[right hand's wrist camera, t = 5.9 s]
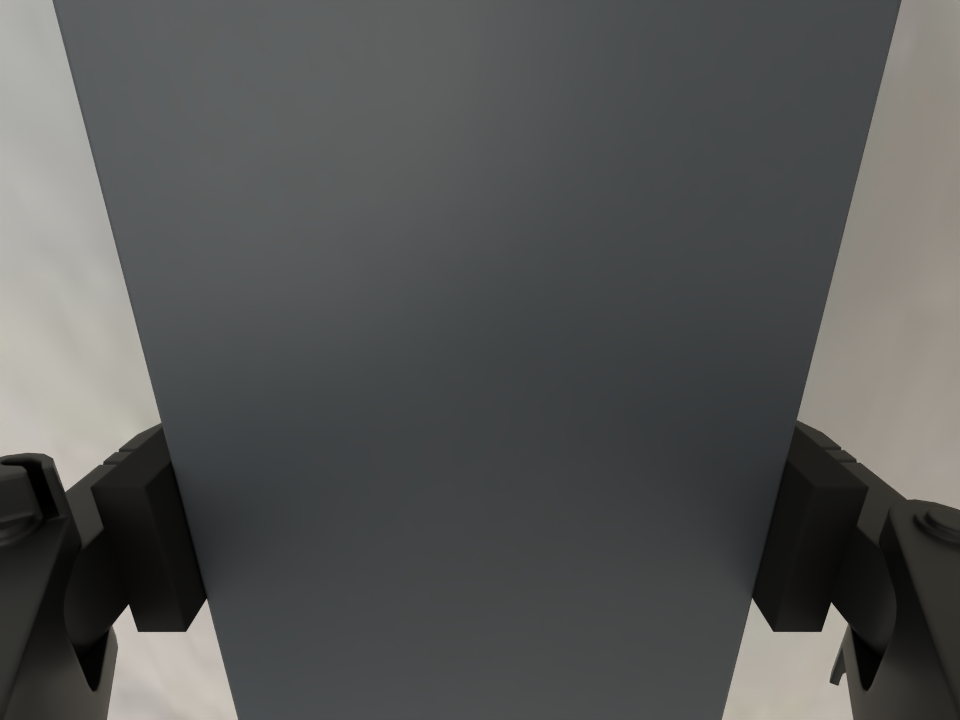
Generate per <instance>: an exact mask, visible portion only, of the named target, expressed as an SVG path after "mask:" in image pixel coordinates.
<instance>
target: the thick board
mask: <svg viewBox="0 0 960 720" xmlns="http://www.w3.org/2000/svg"><path fill="white" fill-rule="evenodd" d="M53 4H54V8H55V12H56V15H57V19H58V23H59V27H60V31H61V35H62V39H63V43H64V46H65V50H66V54H67V58H68V62H69V66H70V70H71V74H72V77H73V81H74V85H75V89H76V93H77V97H78V101H79V105H80V108H81V112H82V116H83V120H84V124H85V128H86V132H87V136H88V139H89V143H90V147H91V151H92V155H93V159H94V163H95V167H96V170H97V174H98V178H99V182H100V186H101V190H102V194H103V198H104V201H105V205H106V209H107V213H108V217H109V221H110V225H111V229H112V232H113V236H114V240H115V244H116V248H117V252H118V256H119V260H120V263H121V267H122V271H123V275H124V279H125V283H126V287H127V290H128V294H129V298H130V302H131V306H132V310H133V314H134V318H135V321H136V325H137V329H138V333H139V337H140V341H141V345H142V349H143V352H144V356H145V360H146V364H147V368H148V372H149V376H150V380H151V383H152V387H153V391H154V395H155V399H156V403H157V407H158V411H159V414H160V418H161V422H162V426H163V430H164V434H165V438H166V442H167V445H168V449H169V453H170V457H171V461H172V465H173V469H174V473H175V476H176V480H177V484H178V488H179V492H180V496H181V500H182V504H183V507H184V511H185V515H186V519H187V523H188V527H189V531H190V534H191V538H192V542H193V546H194V550H195V554H196V558H197V562H198V565H199V569H200V573H201V577H202V581H203V585H204V589H205V593H206V596H207V600H208V604H209V608H210V612H211V616H212V620H213V624H214V627H215V631H216V635H217V639H218V643H219V647H220V651H221V655H222V658H223V662H224V666H225V670H226V674H227V678H228V682H229V686H230V689H231V693H232V697H233V701H234V705H235V709H236V713H237V717H238V720H722V716H723V712H724V708H725V704H726V700H727V696H728V692H729V688H730V684H731V680H732V676H733V672H734V668H735V664H736V660H737V656H738V652H739V648H740V644H741V640H742V636H743V632H744V628H745V624H746V620H747V616H748V612H749V608H750V604H751V600H752V596H753V592H754V588H755V584H756V580H757V576H758V572H759V568H760V564H761V560H762V556H763V552H764V548H765V544H766V540H767V536H768V532H769V528H770V524H771V520H772V516H773V512H774V508H775V504H776V500H777V496H778V492H779V488H780V484H781V480H782V476H783V472H784V468H785V464H786V460H787V456H788V452H789V448H790V444H791V440H792V436H793V432H794V428H795V424H796V420H797V416H798V412H799V408H800V404H801V400H802V396H803V392H804V388H805V384H806V380H807V376H808V372H809V368H810V364H811V360H812V356H813V352H814V348H815V344H816V340H817V336H818V332H819V328H820V324H821V320H822V316H823V312H824V308H825V304H826V300H827V296H828V292H829V288H830V284H831V280H832V276H833V272H834V268H835V264H836V260H837V256H838V252H839V248H840V244H841V240H842V236H843V232H844V228H845V224H846V220H847V216H848V212H849V208H850V204H851V200H852V196H853V192H854V188H855V184H856V180H857V176H858V172H859V168H860V164H861V160H862V156H863V152H864V148H865V144H866V140H867V136H868V132H869V128H870V124H871V120H872V116H873V112H874V108H875V104H876V100H877V96H878V92H879V88H880V84H881V80H882V76H883V72H884V68H885V64H886V60H887V56H888V52H889V48H890V44H891V40H892V36H893V32H894V28H895V24H896V20H897V16H898V12H899V8H900V4H901V0H53Z"/></svg>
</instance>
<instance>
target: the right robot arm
mask: <svg viewBox="0 0 960 720" xmlns="http://www.w3.org/2000/svg"><path fill="white" fill-rule="evenodd" d="M752 598H753V600H754V601H755V603H756V605H757V606H758V608H759V609H760V611H761V613H762V614H763V616H764V617H765V619H766V621H767V622H768V624H769V625H770V627H771V629H772V630H773V632H821V631H822V628H823V625H824V622H825V619H826V616H827V613H828V610H829V607H830V604H831V602H832V603H833V605H834V606H835V607H836V608H837V610H838V611H839V612H840V614H841V615H842V616H843V617H844V619H845V620H846V621H847V622H848V626H847V629H846V632H845V635H844V638H843V641H842V643H841V646H840V649H839V652H838V655H837V657H836V660H835V663H834V666H833V669H832V672H831V677H830V683H832V684H835V685H839V682H840V679H841V676H842V674H844V673H846V675H847V681H848V687H849V694H850V700H851V707H852V713H853V719H854V720H960V510H958V509H955V508H952V507H948V506H945V505H942V504H938V503H935V502H928V501H921V500H907V499H905V498H904V497H903V496H902V495H900V494H899V493H898V492H897V491H895V490H894V489H893V488H892V487H890V486H889V485H888V484H887V483H885V482H884V481H883V480H882V479H880V478H879V477H878V476H876V475H875V474H874V473H873V472H871V471H870V470H869V469H868V468H866V467H865V466H864V465H863V464H861V463H857V462H856V459H855V458H854V457H853V456H851V455H850V454H849V453H847V452H846V451H845V450H841V447H840V446H839V445H837V444H836V443H835V442H834V441H832V440H831V439H830V438H829V437H827V436H826V435H825V434H824V433H822V432H820V431H818V430H816V429H814V428H812V427H810V426H808V425H806V424H804V423H801V422H799V421H797V420H796V424H795V428H794V432H793V436H792V440H791V444H790V448H789V452H788V456H787V460H786V464H785V468H784V472H783V476H782V480H781V484H780V488H779V492H778V496H777V500H776V504H775V508H774V512H773V516H772V520H771V524H770V528H769V532H768V536H767V540H766V544H765V548H764V552H763V556H762V560H761V564H760V568H759V572H758V576H757V580H756V584H755V588H754V592H753V596H752ZM206 599H207V596H206V593H205V589H204V585H203V581H202V577H201V573H200V569H199V565H198V562H197V558H196V554H195V550H194V546H193V542H192V538H191V534H190V531H189V527H188V523H187V519H186V515H185V511H184V507H183V504H182V500H181V496H180V492H179V488H178V484H177V480H176V476H175V473H174V469H173V465H172V461H171V457H170V453H169V449H168V445H167V442H166V438H165V434H164V430H163V426H162V423H160V424H158V425H156V426H154V427H152V428H150V429H148V430H146V431H144V432H142V433H140V434H138V435H136V436H135V437H134V438H132V439H131V440H130V441H129V442H127V443H126V444H125V445H124V446H122V447H121V448H120V449H119V452H115V453H114V454H112V455H111V456H110V457H109V458H107V459H106V460H105V461H104V463H103V465H99V466H97V467H96V468H95V469H94V470H92V471H91V472H90V473H89V474H87V475H86V476H85V477H84V478H82V479H81V480H80V481H79V482H77V483H76V484H75V485H74V486H72V487H71V488H70V489H69V490H67V491H66V492H65V491H64V488H63V486H62V483H61V480H60V477H59V474H58V472H57V469H56V466H55V463H54V460H53V458H51V457H49V456H47V455H45V454H38V453H23V454H15V455H7V456H3V457H0V720H107V715H108V708H109V702H110V696H111V689H112V683H113V676H114V670H115V663H116V657H117V651H118V645H117V639H116V635H115V632H114V629H113V626H112V625H113V623H114V622H115V621H116V620H117V618H118V617H119V616H120V614H121V613H122V612H123V611H124V609H125V608H126V607H127V606H128V604H129V606H130V609H131V612H132V615H133V618H134V621H135V624H136V627H137V630H138V632H186V631H187V629H188V628H189V626H190V625H191V623H192V621H193V620H194V618H195V616H196V615H197V613H198V612H199V610H200V608H201V607H202V605H203V604H204V602H205V600H206Z"/></svg>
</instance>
